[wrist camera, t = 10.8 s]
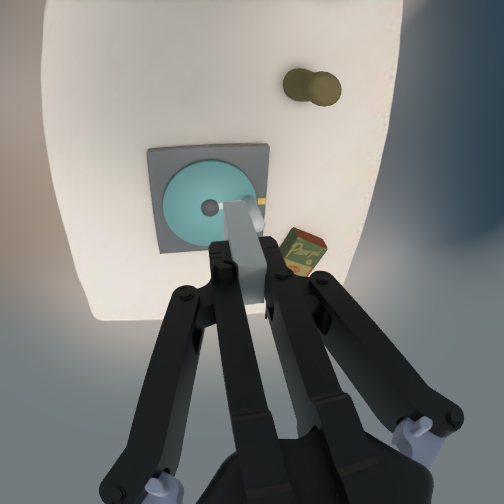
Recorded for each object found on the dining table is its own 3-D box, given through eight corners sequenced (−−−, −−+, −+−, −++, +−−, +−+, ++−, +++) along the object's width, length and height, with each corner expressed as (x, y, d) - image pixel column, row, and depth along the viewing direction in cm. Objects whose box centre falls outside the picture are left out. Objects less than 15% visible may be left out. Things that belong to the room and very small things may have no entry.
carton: (254, 281, 64) (258, 294, 61) (292, 225, 57) (298, 236, 54) (284, 289, 68) (289, 302, 64) (322, 238, 60) (329, 249, 57)
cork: (323, 88, 41) (355, 95, 32) (297, 108, 42) (324, 119, 34) (302, 61, 37) (331, 60, 29) (275, 82, 39) (298, 85, 30)
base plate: (148, 149, 42) (146, 152, 40) (266, 143, 45) (270, 147, 44) (160, 247, 54) (159, 254, 52) (259, 240, 57) (262, 247, 55)
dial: (174, 247, 52) (172, 281, 44) (155, 168, 42) (146, 192, 35) (257, 234, 54) (268, 265, 46) (252, 153, 44) (265, 173, 36)
